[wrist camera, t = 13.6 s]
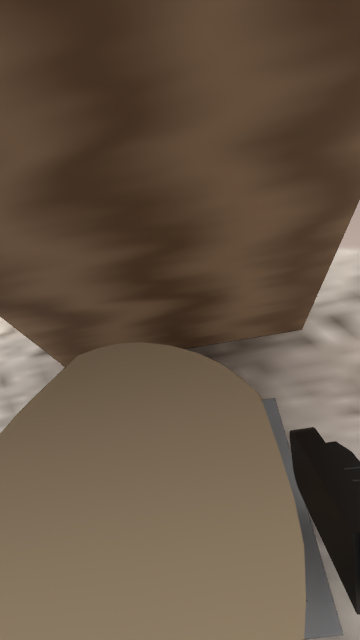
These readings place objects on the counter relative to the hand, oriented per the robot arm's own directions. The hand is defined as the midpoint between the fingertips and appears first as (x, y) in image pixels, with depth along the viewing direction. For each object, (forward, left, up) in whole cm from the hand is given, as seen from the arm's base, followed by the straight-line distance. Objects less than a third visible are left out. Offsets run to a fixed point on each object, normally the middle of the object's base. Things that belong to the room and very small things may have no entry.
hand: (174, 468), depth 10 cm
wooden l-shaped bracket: (0, +3, -9) cm, 9 cm away
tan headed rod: (0, -2, -9) cm, 9 cm away
